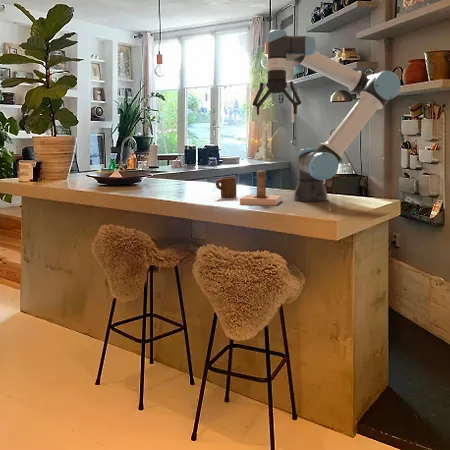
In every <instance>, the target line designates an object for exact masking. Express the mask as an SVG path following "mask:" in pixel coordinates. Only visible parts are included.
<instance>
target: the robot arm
mask: <svg viewBox="0 0 450 450" xmlns="http://www.w3.org/2000/svg"><path fill="white" fill-rule="evenodd" d="M316 41H317V40H316V38H315V37H314V36H309V35H287V31H286V30H285V29H273V30H270V31H269V32H268V34H267V70H268V71H267V82H260V83H259V88H258V91H257V92H256V95H255V97H254V99H253V102H252V106H253V107H256V114H257V116H258V118H259V119H258V120H259V121H258V122H259V124H263V106H262V105H263V104H264V103H265V101H266V100H267V99H268V98H269V96H270V95H271V94H275V95H276V94H282V93H283V94H284V96H285V97H286V98H287V99H288V101H290V103H291V104H292V106H291V123H295V115H297V114H298V106H300V105H302V100H301V98H300V97H299V95H298V92H297V90H296V88H295V84H294V83H295V82H293V81H290V82H287V71H286V69H287V61H290V62H291V61H293V62H295V63H297V64H299V65H301V66H304V67H306V68H308V69H310V70H311V71H314V72H316V73H318V74H320V75H322V76H324V77H327V78H328V79H330V80H332V81H334V82H336V83H338V84H341V85H343V86H345V87H346V88H348V91H349V92H351V93H353V94H356V95H357V96H359V99H358V100H357V102H356V103H355V104H354V105H353V107H352V108H351V109H350V111H349V112H348V113H347V115H346V116H345V117H344V118H343V120H342V121H341V122H340V123H339V125H338V126H337V128H335V130H334V131H333V132H332V133H331V135H330V137H329V138H328V139H327V140H326V141H325V142H321V143H320V144H319V145H317V147H310V148H309V147H307V148H301V149H300V150H298V155H297V165H298V166H297V184H296V187H295V191H294V194H293V200H294V201H300V202H325V201H327V200H328V193H327V189H326V186H325V183H324V181H326V180H329V179H331V178H333V177H334V176H335V175H336V174H337V172H338V170H339V165H340V163H341V162H342V161H343V154H344V152H346V150H347V148H348V147H349V146H350V145H351V144H352V142H354V140H355V138H356V137H357V136H358V135H359V133H360V132H361V131H362V129H363V128H364V127H365V126H366V124H367V123H368V122H369V120H370V119H371V118H372V117H373V116H374V114H375V112H377V110H382V109H384V107H385V106H386V104H387V103H388V102H389V101H390V100H393V99H394V98H396V97H397V95H398V94H400V93H399V92H400V90H401V80H400V78H399V76H398V74H397V73H395V72H393V71H391V70H381V71H379V72H375V73H366V72H364V71H363V70H355V69H353V68H350V67H349V66H346V65H345V64H342V63H340V62H338V61H336V60H334V59H332V58H330V57H329V56H326V55H324V54H323V53H320V52H318V51H316V47H317V43H316ZM287 86H288V87H289V88H290V90H291V92H292V94H293V97H294V98H295V100H296V101H295V100H294V98H293V97H292V95H290V94H289V93H288V91H287V90H286V88H287ZM266 87H267V90H266V92H265V93H264V95H263V96H262V93H263V92H264V89H266ZM261 96H262V98H261Z"/></svg>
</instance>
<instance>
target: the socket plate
mask: <svg viewBox="0 0 450 450" xmlns="http://www.w3.org/2000/svg"><path fill="white" fill-rule="evenodd" d="M281 202H283V196H282V195H277V194H275V195H274V194H273V195H271V194H269V195H268V194H266V198H257V194H246V195H245V196H242V197H240V198H239V205H252V206H253V205H254V206H255V205H257V206H277V205H278V204H280V203H281Z"/></svg>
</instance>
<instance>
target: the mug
mask: <svg viewBox="0 0 450 450" xmlns="http://www.w3.org/2000/svg"><path fill="white" fill-rule="evenodd" d="M215 187H216V189H218V190H220V197H221V198H223V199H224V198H225V199H231V198H236V197H237V177H234V176H223V177H220V178H219V179H217V180H216V182H215Z"/></svg>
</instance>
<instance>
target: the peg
mask: <svg viewBox="0 0 450 450" xmlns="http://www.w3.org/2000/svg"><path fill="white" fill-rule="evenodd" d="M266 174H267V171H266V170H257V171H256V195H257V198H266V195H267V193H266V192H267V191H266V189H267V183H266V182H267V181H266V180H267V179H266V178H267V175H266Z"/></svg>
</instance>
